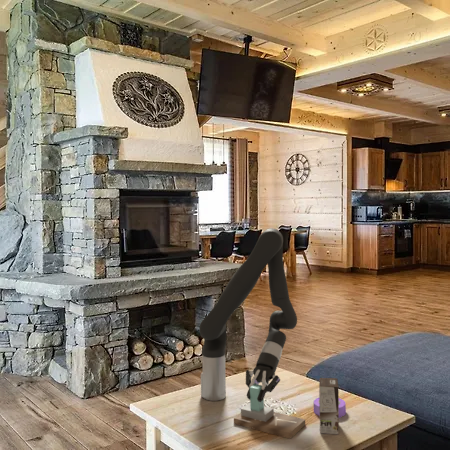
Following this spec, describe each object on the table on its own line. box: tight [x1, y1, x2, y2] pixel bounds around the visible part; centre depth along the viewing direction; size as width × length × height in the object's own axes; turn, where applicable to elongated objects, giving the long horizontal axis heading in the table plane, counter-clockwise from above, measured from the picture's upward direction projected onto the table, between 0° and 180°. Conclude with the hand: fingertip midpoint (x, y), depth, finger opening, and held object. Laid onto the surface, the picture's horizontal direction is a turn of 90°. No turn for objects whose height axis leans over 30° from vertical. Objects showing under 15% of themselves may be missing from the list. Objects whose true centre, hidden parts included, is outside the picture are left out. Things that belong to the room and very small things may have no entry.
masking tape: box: [313, 397, 347, 419], centre depth 185 cm, size 12×12×4 cm
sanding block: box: [240, 384, 275, 422], centre depth 178 cm, size 10×6×10 cm, turn 57°
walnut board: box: [233, 411, 306, 440], centre depth 176 cm, size 22×12×2 cm, turn 57°
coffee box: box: [318, 377, 340, 435], centre depth 171 cm, size 9×6×16 cm
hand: (254, 399), depth 176 cm, fingers closed on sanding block, 3 cm apart
